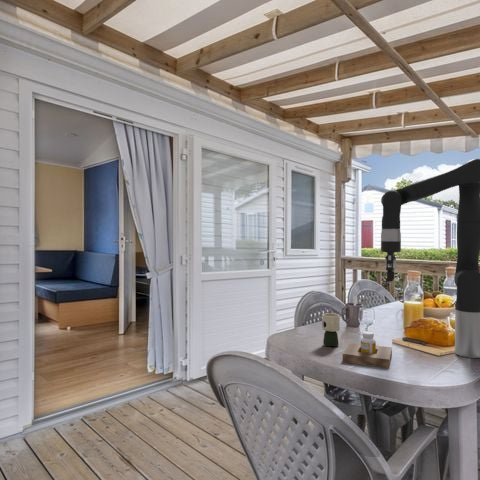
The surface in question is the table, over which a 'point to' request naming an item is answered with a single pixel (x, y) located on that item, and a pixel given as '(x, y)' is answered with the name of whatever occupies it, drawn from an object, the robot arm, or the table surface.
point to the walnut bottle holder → (368, 356)
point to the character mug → (330, 328)
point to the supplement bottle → (368, 343)
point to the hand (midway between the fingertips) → (390, 280)
